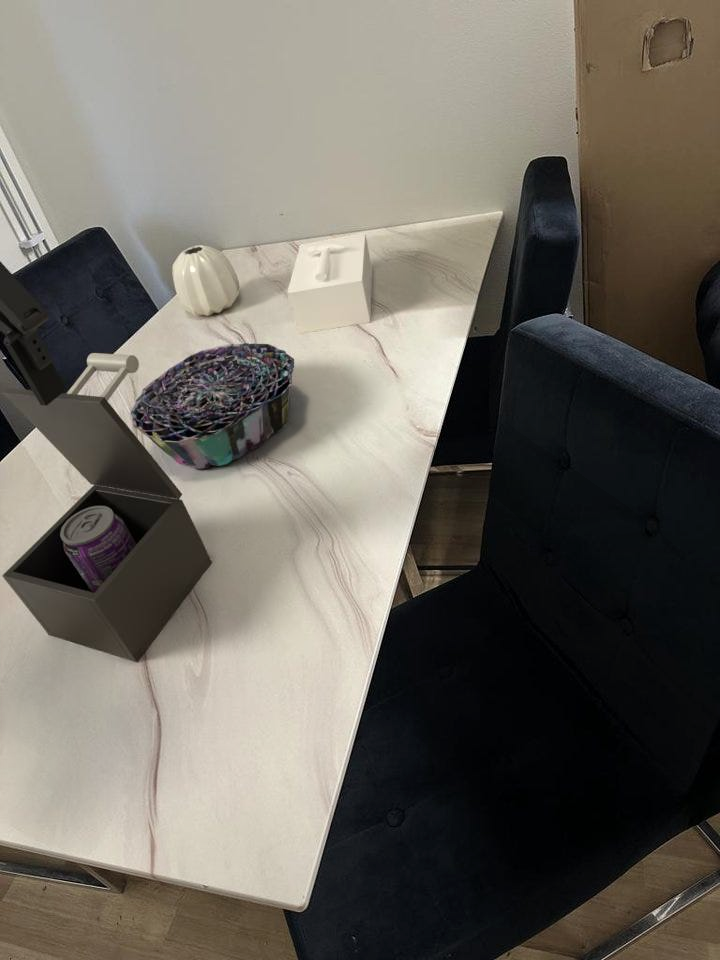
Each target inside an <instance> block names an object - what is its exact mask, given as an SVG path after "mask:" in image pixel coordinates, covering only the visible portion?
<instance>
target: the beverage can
mask: <svg viewBox="0 0 720 960" xmlns="http://www.w3.org/2000/svg"><path fill="white" fill-rule="evenodd" d="M60 536H61V539H62V540H63V543H64V551H65V553H66V554H67V556H68V557H69V559H70V560H71V562H72V563H73V565H74V566H75V568H76V569H77V571H78V572H79V573H80V575H81V576H82V578H83V579H84V581H85V582H86V584H87V585H88V587H89V588H90V590H91V591H92V592H93V593H95V592H96V591H97V590H98V588H99V587H100V586H101V585H102V584H103V583H104V582H105V580H106V579H107V578H108V577H109V576H110V575H111V573H112V572H113V571H114V570H115V569H116V568H117V567H118V565H119V564H120V563H121V562H122V561H123V560H124V559H125V557H126V556H127V555H128V554H129V553H130V552H131V550H132V549H133V548H134V547H135V546H136V545H137V544H136V543H135V541H134V539H133V537H132V536H131V534H130V532H129V530H128V529H127V527H126V525H125V523H124V522H123V520H122V519H121V518H120V517H119V516H117V515H115V514H114V513H113V511H112V510H111V509H110V508H109V507H106V506H93V507H89V508H86V509H84V510H81V511H79V512H78V513H76V514H74V515H73V516H72V517H71V518H69V519H68V520H67V521H66V522H65V524H64V525H63V527H62V529H61V532H60Z"/></svg>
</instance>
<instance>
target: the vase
mask: <svg viewBox="0 0 720 960" xmlns="http://www.w3.org/2000/svg"><path fill="white" fill-rule="evenodd" d="M171 268H172V269H171V274H172V281H173V285H174V289H175V292H176V297H177V300H178V302H179V304H180V306H181V308H182V310H185V311H186V312H188V313H190V314H192V315H194V316H197V317H198V316H207V317H209V316H212V315H213V314H219V313H221V312H222V311H223V310H226V309H230V308H231V307H232V306H233V304H234V303H235V302H236V301H237V298H238V295H239V292H240V281H239V278H238V275H237V272H236V271H235V268H234V267H233V265H232V263H231V261H230V260H229V258H228V257H227V255H225V253H224V252H223V251H220V250H218V249H216V248H214V247H211V246H209V245H203V244H198V245H193V246H191V247H187V248H186V249H184V250H183V251H181V252H180V253H179V255H178V256H177V257H176V259H175V260H174V262H173V263H172V267H171Z"/></svg>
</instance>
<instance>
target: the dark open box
mask: <svg viewBox="0 0 720 960" xmlns="http://www.w3.org/2000/svg"><path fill="white" fill-rule="evenodd" d="M93 506H106V507H109V508H110V509H111V510H112V511H113V513H114V514H115V515H117V516H119V517H120V518H121V519H122V520H123V522H124V523H125V525H126V527H127V529H128V530H129V532H130V534H131V536H132V537H133V539H134V541H135V543H136V544H137V545H136V546H135V547H134V548H133V549H132V550H131V552H130V553H129V554H128V555H127V556H126V557H125V559H124V560H123V561H122V562H121V563H120V564H119V565H118V567H117V568H116V569H115V570H114V571H113V572H112V573H111V575H110V576H109V577H108V578H107V579H106V580H105V582H104V583H103V584H102V585H101V586H100V587H99V588H98V590H97V591H96V592H95V593H93V592H92V591H91V590H90V588H89V587H88V585H87V584H86V582H85V581H84V579H83V578H82V576H81V575H80V573H79V572H78V571H77V569H76V568H75V566H74V565H73V563H72V562H71V560H70V559H69V557H68V556H67V554H66V553H65V551H64V543H63V540H62V539H61V536H60V532H61V529H62V527H63V525H64V524H65V522H66V521H67V520H68V519H69V518H71V517H72V516H73V515H74V514H76V513H78V512H79V511H81V510H84V509H86V508H89V507H93ZM212 563H213V561H212V559H211V557H210V554H209V552H208V550H207V548H206V546H205V544H204V543H203V539H202V538H201V536H200V534H199V531H198V530H197V528H196V525H195V523H194V522H193V519H192V518H191V515H190V513H189V511H188V510H187V506H186V505H185V503H184V501H183V499H181V498H180V499H175V498H169V497H163V496H157V495H151V494H145V493H139V492H133V491H128V490H122V489H116V488H110V487H104V486H98V485H92V486H91V487H90V489H88V490H87V491H86V492H85V493H84V494H83V496H81V497H80V498H79V499H78V500H77V501H76V502H74V504H73V505H72V506H71V507H70V508H69V509H68V510H67V511H66V512H65V513H64V514H62V515H61V517H60V518H59V519H58V520H56V522H55V523H54V524H53V525H52V526H51V527H50V528H49V529H48V530H47V531H46V532H45V533H44V534H42V536H40V537H39V539H38V540H36V542H34V543H33V545H31V546H30V548H29V549H28V550H26V551H25V552H24V553H23V554H22V555H21V556H20V557H19V558H18V559H17V560H16V561H15V562H14V563H13V564H12V565H11V566H10V567H9V568H8V569H7V570H6V571H5V572H4V573H3V574H2V575H1V576H2V578H3V579H4V580H5V582H6V583H7V585H8V586H9V587H10V588H11V589H12V590H13V592H14V593H15V594H16V596H17V597H18V598H19V599H20V600H21V602H22V603H23V604H24V606H25V607H26V608H27V609H28V611H29V612H30V613H31V614H32V616H33V617H34V618H35V619H36V621H37V622H38V623H39V625H40V626H41V627H42V628H43V630H44V631H45V632H46V633H47V635H48V636H51V637H53V638H54V637H55V638H58V639H61V640H63V641H67V642H71V643H74V644H76V645H80V646H82V647H85V648H89V649H93V650H95V651H99V652H103V653H106V654H108V655H111V656H115V657H118V658H122V659H125V660H128V661H132V662H134V663H138V662H139V661H140V659H141V658H142V657H143V655H144V654H145V653H146V651H147V650H148V649H149V647H150V646H151V645H152V643H153V642H154V640H155V639H156V638H157V637H158V635H159V634H160V633H161V632H162V630H163V628H164V627H165V626H166V624H167V623H168V622H169V621H170V619H171V618H172V617H173V615H174V614H175V612H176V611H177V610H178V608H179V607H180V605H181V604H182V603H183V602H184V600H185V599H186V598H187V596H188V595H189V594H190V592H191V591H192V590H193V588H194V587H195V586H196V584H197V583H198V582H199V580H200V579H201V578H202V576H203V575H204V574H205V572H206V571H207V570H208V568H209V567H210V566H211V564H212Z"/></svg>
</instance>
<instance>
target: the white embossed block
mask: <svg viewBox="0 0 720 960" xmlns="http://www.w3.org/2000/svg"><path fill="white" fill-rule="evenodd" d="M372 287H373V266H372V261H371V256H370V251H369V244H368V240H367V235H366V232H362V233H355V234H351V235H345V236H344V235H343V236H339V237H333V238H329V239H323V240H317V241H312V242H306V243H301V244H299V248H298V251H297V255H296V258H295V263H294V266H293V270H292V274H291V278H290V281H289V285H288V288H287V291H286V295H287V298H288V301H289V305H290V309H291V312H292V316H293V320H294V323H295V327H296V331H297V334H298V335H301V334H307V333H313V332H319V331H325V330H333V329H339V328H344V327H351V326H357V325H363V324H369V323H371V315H372V314H371V311H372V292H373V291H372V289H373V288H372Z"/></svg>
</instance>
